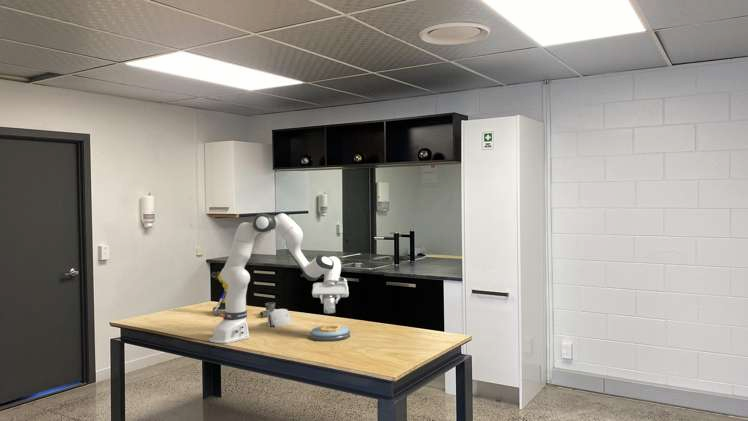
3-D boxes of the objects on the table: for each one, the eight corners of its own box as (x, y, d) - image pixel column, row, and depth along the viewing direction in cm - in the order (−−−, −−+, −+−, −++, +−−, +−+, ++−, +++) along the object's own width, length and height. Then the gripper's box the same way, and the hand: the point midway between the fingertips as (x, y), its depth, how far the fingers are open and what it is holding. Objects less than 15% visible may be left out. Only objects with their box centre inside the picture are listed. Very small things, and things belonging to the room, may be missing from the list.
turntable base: (334, 343, 284) (334, 339, 284) (301, 338, 296) (301, 334, 296) (358, 334, 303) (357, 330, 303) (326, 329, 315) (326, 326, 315)
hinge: (275, 327, 324) (270, 311, 325) (269, 329, 326) (264, 313, 328) (293, 321, 338) (289, 306, 339) (288, 323, 340) (283, 308, 342)
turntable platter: (333, 338, 286) (333, 333, 286) (304, 334, 297) (303, 329, 297) (355, 330, 303) (355, 325, 302) (326, 326, 313) (326, 322, 313)
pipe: (258, 317, 351) (257, 305, 351) (270, 314, 363) (270, 301, 363) (265, 318, 349) (265, 306, 348) (278, 314, 360) (277, 302, 360)
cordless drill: (239, 309, 380) (238, 269, 379) (241, 314, 362) (240, 273, 361) (211, 311, 375) (210, 271, 374) (212, 317, 357) (211, 274, 356)
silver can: (330, 313, 295) (330, 296, 295) (321, 312, 298) (321, 295, 298) (337, 311, 300) (336, 295, 300) (328, 310, 304) (328, 294, 303)
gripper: (312, 279, 307) (309, 299, 297) (348, 278, 305) (346, 299, 296) (314, 285, 311) (311, 306, 302) (350, 285, 310) (348, 306, 300)
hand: (329, 302), depth 299 cm, fingers closed on silver can, 6 cm apart
